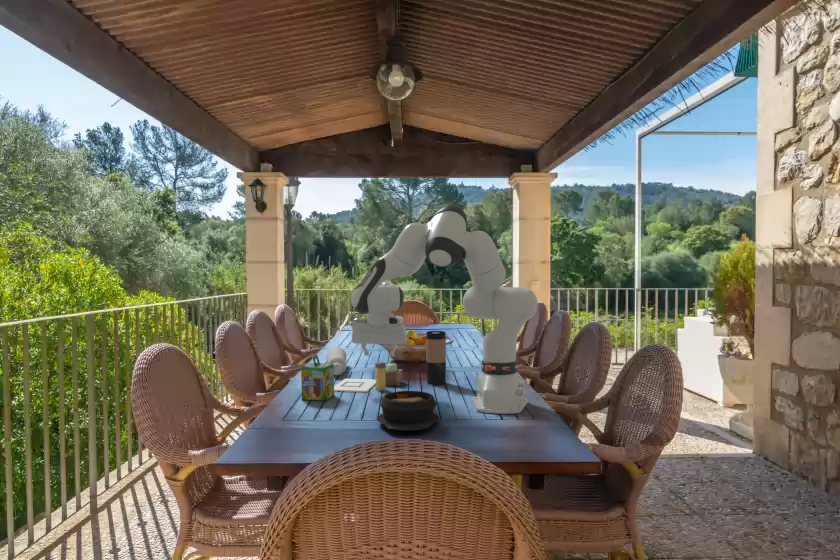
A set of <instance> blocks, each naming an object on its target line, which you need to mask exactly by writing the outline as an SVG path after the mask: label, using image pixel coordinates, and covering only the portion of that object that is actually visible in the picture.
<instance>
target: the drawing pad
mask: <svg viewBox="0 0 840 560" xmlns="http://www.w3.org/2000/svg"><path fill="white" fill-rule="evenodd" d="M374 386H376V378H375V379H371V378H364V379H363V378H343V380H341V381H340V382H338V383H337V384H336V385H334V391H340V392H339V393H366V392H367V393H368V392H369V391H371V389H372V388H373V387H374ZM343 391H344V392H343Z"/></svg>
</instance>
